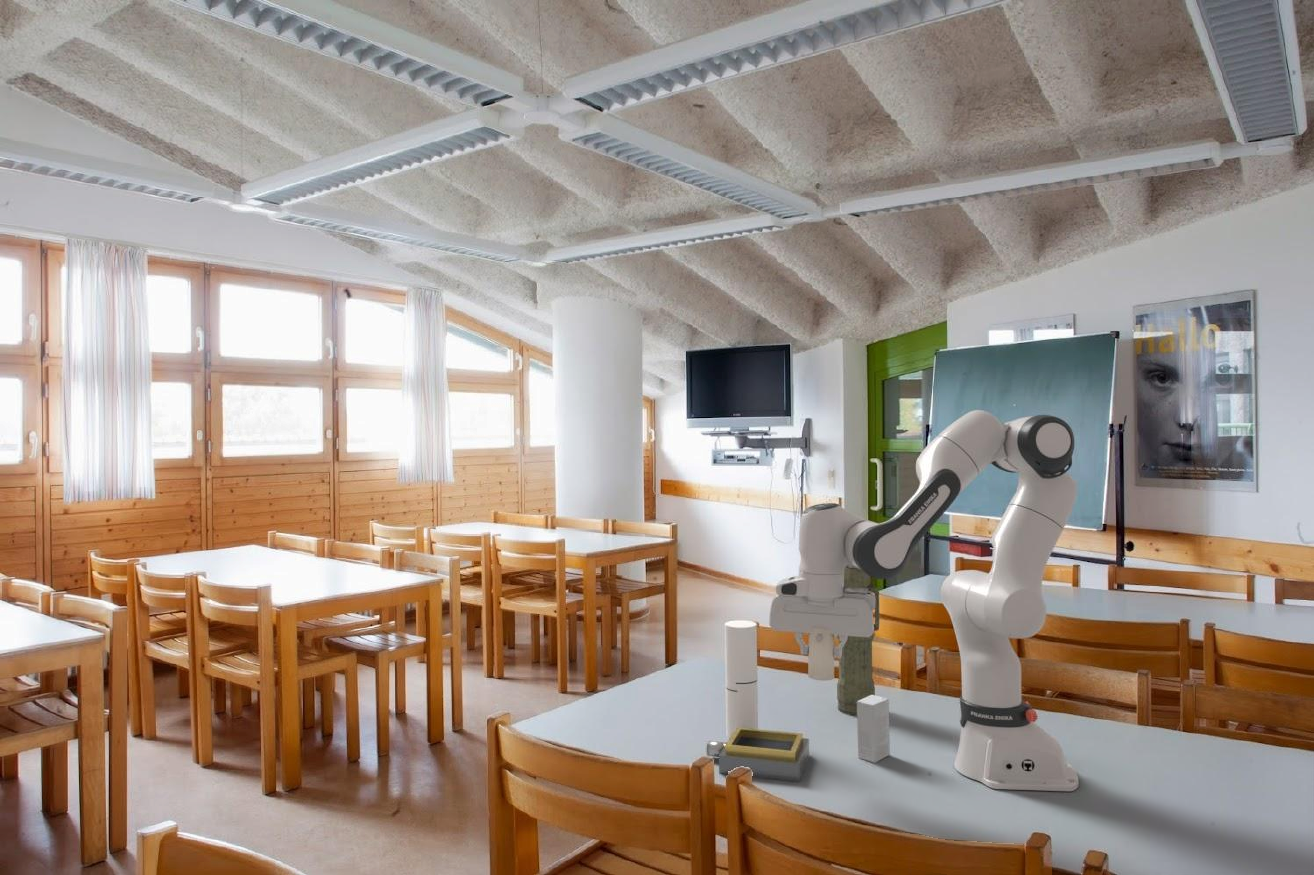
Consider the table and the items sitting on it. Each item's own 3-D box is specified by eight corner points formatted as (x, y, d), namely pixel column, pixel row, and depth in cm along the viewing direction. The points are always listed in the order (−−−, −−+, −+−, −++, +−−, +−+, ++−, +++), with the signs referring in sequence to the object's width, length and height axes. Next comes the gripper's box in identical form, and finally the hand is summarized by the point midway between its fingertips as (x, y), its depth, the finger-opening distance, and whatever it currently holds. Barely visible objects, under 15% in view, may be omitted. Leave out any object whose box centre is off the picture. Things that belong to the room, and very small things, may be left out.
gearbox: (809, 755, 178) (808, 731, 178) (799, 782, 165) (798, 756, 165) (716, 745, 184) (716, 722, 184) (699, 770, 171) (699, 746, 171)
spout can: (835, 674, 169) (835, 624, 169) (831, 683, 163) (831, 631, 163) (810, 672, 170) (810, 622, 170) (805, 681, 164) (805, 630, 164)
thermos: (835, 701, 213) (834, 562, 212) (883, 707, 208) (882, 564, 207) (827, 712, 205) (825, 567, 204) (876, 718, 200) (874, 570, 199)
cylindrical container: (756, 741, 186) (755, 628, 186) (724, 739, 188) (722, 627, 187) (759, 730, 193) (757, 620, 193) (728, 728, 195) (726, 619, 194)
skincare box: (872, 749, 180) (871, 693, 180) (890, 755, 177) (889, 698, 177) (856, 758, 176) (856, 700, 176) (874, 763, 173) (874, 705, 173)
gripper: (876, 586, 167) (876, 656, 167) (773, 580, 173) (773, 647, 173) (874, 591, 161) (874, 664, 161) (767, 585, 167) (767, 655, 167)
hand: (821, 655), depth 167 cm, fingers closed on spout can, 5 cm apart
